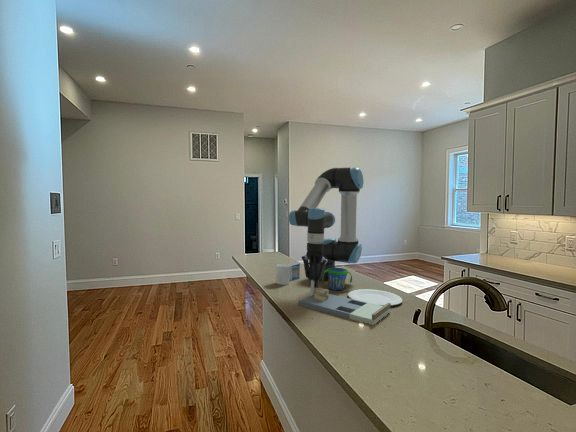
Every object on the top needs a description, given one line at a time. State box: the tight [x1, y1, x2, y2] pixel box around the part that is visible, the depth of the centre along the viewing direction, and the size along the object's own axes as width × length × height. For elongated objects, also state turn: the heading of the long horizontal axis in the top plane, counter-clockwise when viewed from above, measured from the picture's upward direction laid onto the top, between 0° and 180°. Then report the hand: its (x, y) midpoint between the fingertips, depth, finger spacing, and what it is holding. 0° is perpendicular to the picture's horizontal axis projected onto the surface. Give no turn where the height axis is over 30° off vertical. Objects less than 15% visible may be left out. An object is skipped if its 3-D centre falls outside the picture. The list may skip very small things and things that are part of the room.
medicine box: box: [289, 262, 301, 281], centre depth 185 cm, size 8×4×9 cm, turn 143°
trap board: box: [298, 293, 392, 326], centre depth 136 cm, size 18×34×4 cm, turn 54°
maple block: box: [314, 287, 330, 301], centre depth 142 cm, size 4×4×4 cm
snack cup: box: [321, 267, 353, 291], centre depth 167 cm, size 16×10×10 cm
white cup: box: [275, 263, 291, 286], centre depth 174 cm, size 8×8×10 cm
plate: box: [347, 288, 403, 307], centre depth 151 cm, size 25×25×2 cm
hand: (313, 294), depth 145 cm, fingers closed
